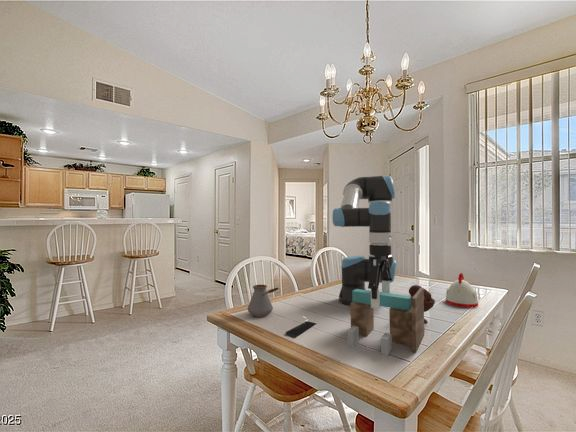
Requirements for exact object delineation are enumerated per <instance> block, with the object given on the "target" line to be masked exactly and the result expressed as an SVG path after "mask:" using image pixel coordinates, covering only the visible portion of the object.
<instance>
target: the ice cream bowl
mask: <svg viewBox="0 0 576 432" xmlns="http://www.w3.org/2000/svg"><path fill="white" fill-rule="evenodd" d="M420 288H423V286H421V285H418V284H413V285H411V286H410V287H409V289H408V293H409V296H412V297H413V296H414V295H415V294H416V293H417V291H418V290H419V289H420ZM435 303H436V300H435V299H434V298H433V297H432V294H431V293H430V291H428V290H427V289H426V288H424V313H425V312H428V311H429V310H431V309H432V308H433V307H434V305H435ZM428 323H429V321H428V320H427V319H425V318H424V325H427V324H428Z"/></svg>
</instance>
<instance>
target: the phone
mask: <svg viewBox="0 0 576 432" xmlns="http://www.w3.org/2000/svg"><path fill="white" fill-rule="evenodd" d="M316 325H317V323H315V322H313V321H304V322H303V323H301V324H299V325H297V326H294V327H293V328H291V329H289V330H286V331H285V336H288V337H291V338H294V339H296V338H298V337H299V336H301V335H302V334H304V333H305V332H307V331H308V330H310V329H311V328H313V327H314V326H316Z"/></svg>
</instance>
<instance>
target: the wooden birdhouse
mask: <svg viewBox="0 0 576 432" xmlns="http://www.w3.org/2000/svg"><path fill="white" fill-rule="evenodd" d="M424 289H425V287H422V288H420V289H419V290H418V291H417V293H416V294H415V295H414V296H413V297H412V308H411V309H410V311H408V310H407V311H402V310H401V309H395V308H389V333H390V334H392V344H393V343H394V344H397V345H402V346H407V347H411V348H412V353H415V354H416V353H418V350H419V348H420V346H421V343H422V342H423V339H424V337H425V324H424V319H425V312H424Z"/></svg>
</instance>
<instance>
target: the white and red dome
mask: <svg viewBox="0 0 576 432" xmlns="http://www.w3.org/2000/svg"><path fill="white" fill-rule="evenodd" d="M478 299H479V298H478V293H477V290H475V289H474V287H473V286H472V285H471V284H470V283H469V282H468V281H466V280H465V276H464V275H463V273H462V272H460V273H459V274H458V279H457V280H454V281H453V282H452V283H451V284H450V286H449V287H447V288H446V293H445V302H446V304H448V305H451V306H454V307H459V308H468V309H470V308H471V307H473V308H477V307H478V306H479V300H478ZM476 306H477V307H476Z"/></svg>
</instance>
